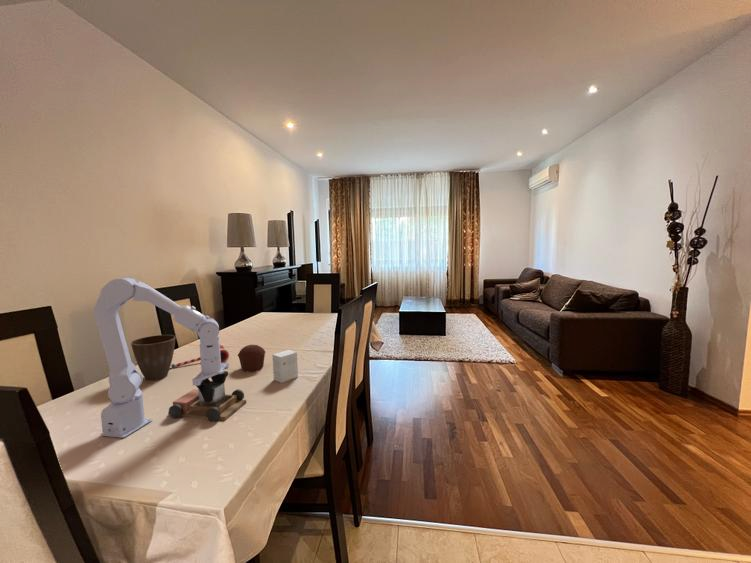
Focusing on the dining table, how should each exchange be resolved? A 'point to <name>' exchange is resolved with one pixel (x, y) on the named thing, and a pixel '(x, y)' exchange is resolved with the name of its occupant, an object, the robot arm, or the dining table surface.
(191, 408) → the chassis
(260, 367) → the muffin
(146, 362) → the plant pot
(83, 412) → the dining table surface
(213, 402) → the grey block
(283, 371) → the small box
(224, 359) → the toy hammer
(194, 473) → the dining table surface
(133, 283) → the robot arm
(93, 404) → the dining table surface
